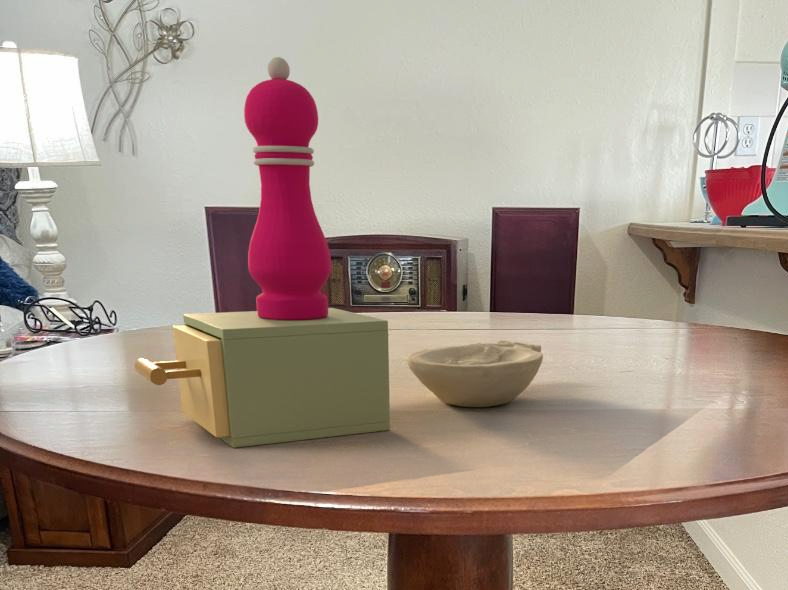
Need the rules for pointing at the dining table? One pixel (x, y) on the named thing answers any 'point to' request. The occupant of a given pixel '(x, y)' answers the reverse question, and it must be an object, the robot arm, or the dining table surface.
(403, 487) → the dining table surface
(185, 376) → the drawer
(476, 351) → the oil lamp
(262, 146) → the pepper mill
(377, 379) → the cabinet
